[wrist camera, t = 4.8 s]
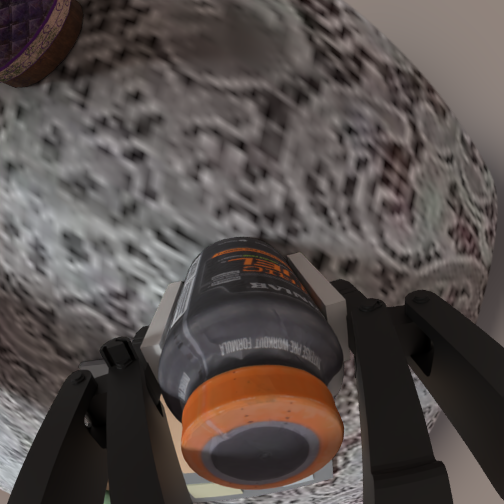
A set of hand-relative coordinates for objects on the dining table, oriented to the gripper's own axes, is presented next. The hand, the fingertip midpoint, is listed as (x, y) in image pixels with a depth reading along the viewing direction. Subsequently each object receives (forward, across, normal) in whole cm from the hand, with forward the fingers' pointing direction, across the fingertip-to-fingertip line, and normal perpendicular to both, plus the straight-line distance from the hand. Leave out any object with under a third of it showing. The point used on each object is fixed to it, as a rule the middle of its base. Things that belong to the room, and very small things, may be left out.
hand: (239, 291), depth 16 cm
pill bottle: (0, 0, 0) cm, 0 cm away
